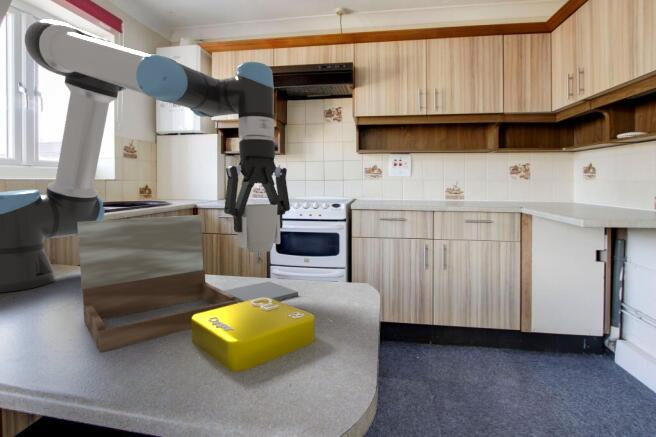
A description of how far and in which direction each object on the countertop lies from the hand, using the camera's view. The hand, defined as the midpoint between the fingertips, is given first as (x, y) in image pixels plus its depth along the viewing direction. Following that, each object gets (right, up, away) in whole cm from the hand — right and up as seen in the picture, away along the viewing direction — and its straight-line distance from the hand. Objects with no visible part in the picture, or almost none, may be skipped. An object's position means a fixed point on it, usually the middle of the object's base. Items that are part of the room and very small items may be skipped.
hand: (259, 245), depth 79 cm
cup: (0, -1, 0) cm, 1 cm away
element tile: (+3, -14, -22) cm, 27 cm away
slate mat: (0, -11, +1) cm, 11 cm away
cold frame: (-15, -13, -13) cm, 24 cm away
